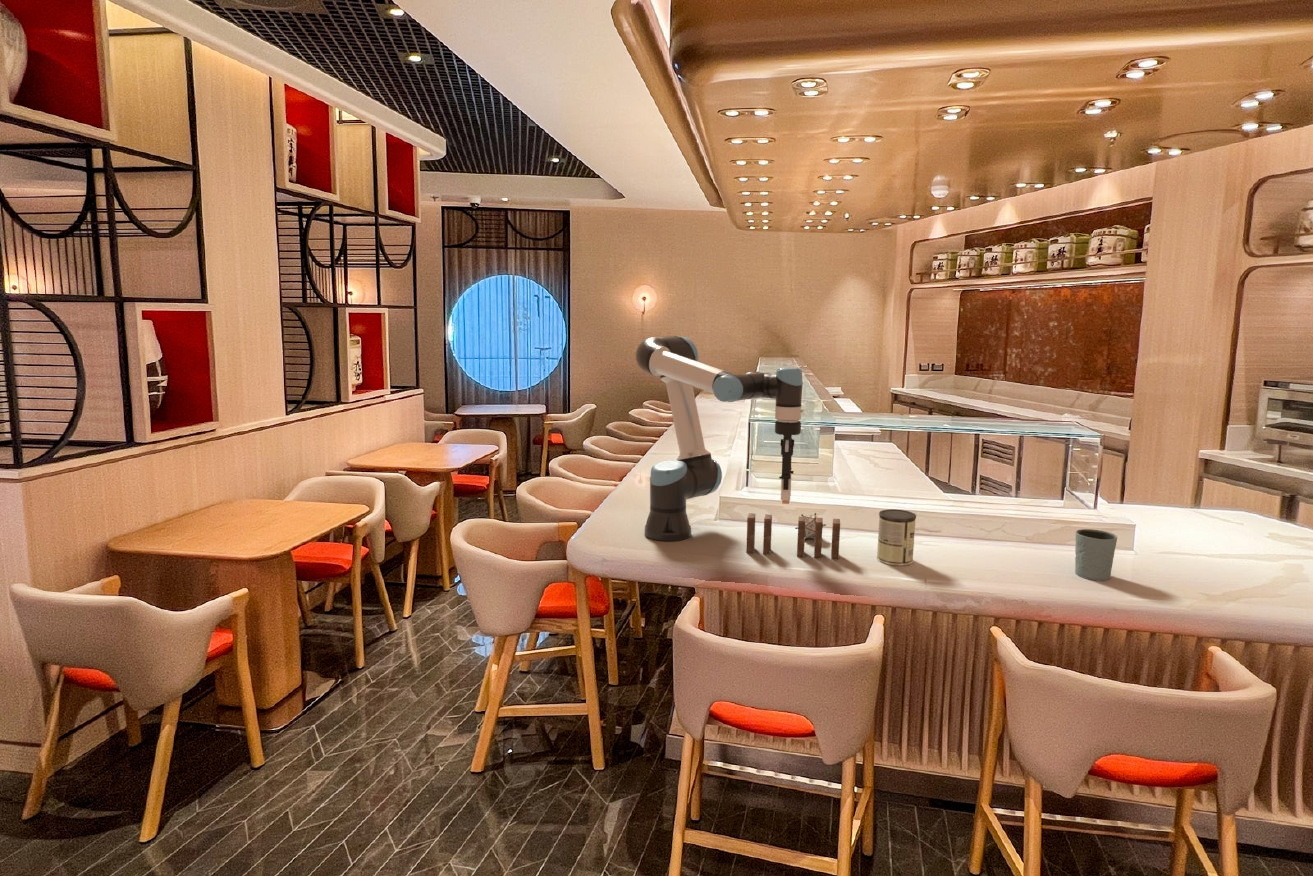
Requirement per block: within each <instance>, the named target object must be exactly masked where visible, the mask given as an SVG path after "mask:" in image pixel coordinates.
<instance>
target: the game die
mask: <svg viewBox="0 0 1313 876" xmlns="http://www.w3.org/2000/svg"><path fill="white" fill-rule="evenodd" d="M800 514H801V517H806V520H805V541H807V539H812V538H813V539H815V524H816V518H818V517H817V516H816V515H817V513H816V512H815V513H814V514H813V515H804V514H802V513H800ZM826 526H827V524H826V523H823V526H822V529H823V527H826ZM794 529H796V530H798V527H795V528H794Z"/></svg>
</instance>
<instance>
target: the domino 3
mask: <svg viewBox="0 0 1313 876" xmlns="http://www.w3.org/2000/svg"><path fill="white" fill-rule="evenodd" d="M781 504H783V505H785V504H786V505H789V504H790V501H789V500H781Z"/></svg>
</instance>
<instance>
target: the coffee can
mask: <svg viewBox="0 0 1313 876" xmlns="http://www.w3.org/2000/svg"><path fill="white" fill-rule="evenodd" d="M878 516H879V517H878V519H879V520H878V533H877V534H878V537H877V552H876V553H877V555H876V560H878V561H879V562H880V563H883V564H884V565H885V564H886V565H889V566H890V565H891V566H902V567H903V566H909V565H912V564H913V562H914V549H915V548H914V547H915V533H916V519H917V514H915V513H914V512H912V511H910V510H904V509H897V508H896V509H893V508H890V509H882V510H880V511H879V512H878Z"/></svg>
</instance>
